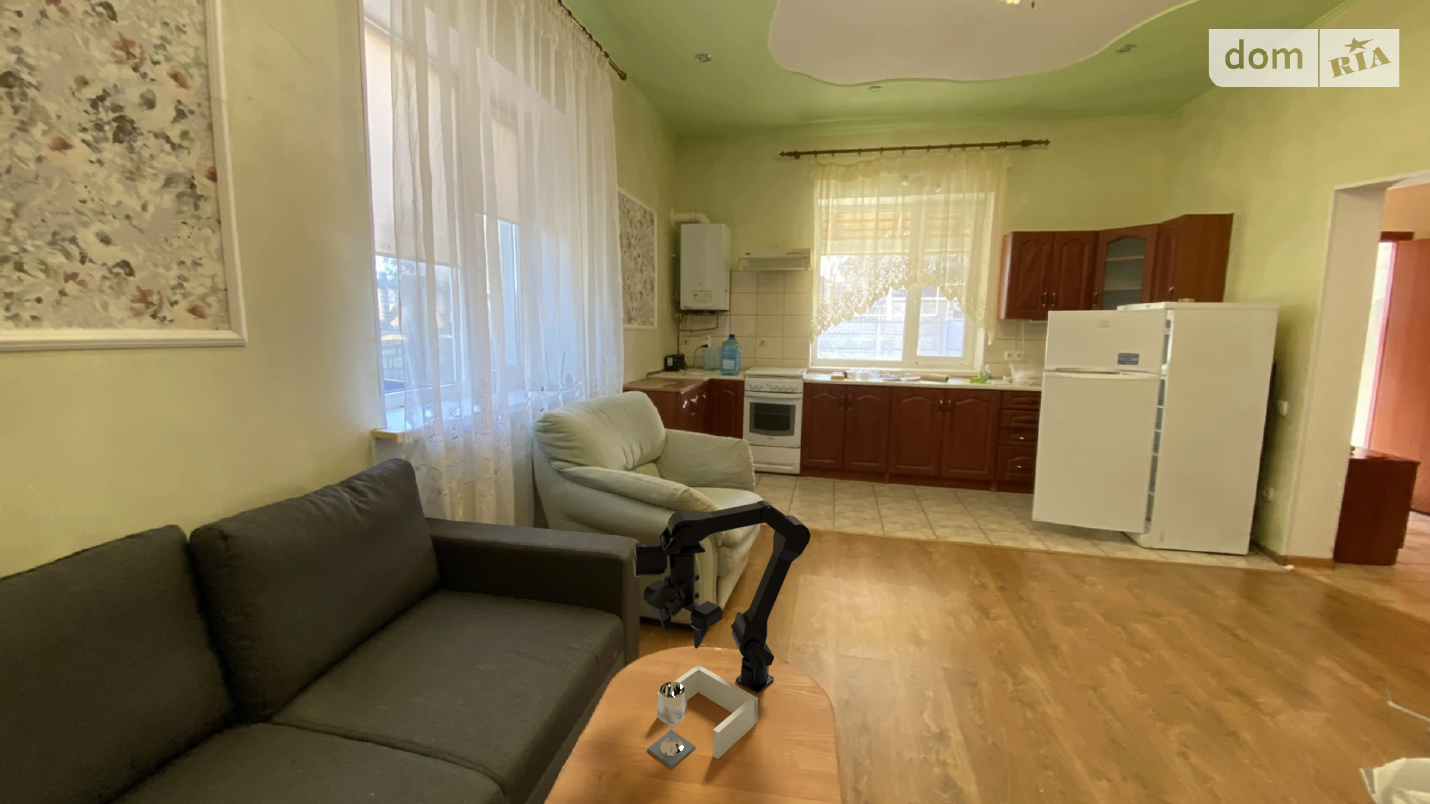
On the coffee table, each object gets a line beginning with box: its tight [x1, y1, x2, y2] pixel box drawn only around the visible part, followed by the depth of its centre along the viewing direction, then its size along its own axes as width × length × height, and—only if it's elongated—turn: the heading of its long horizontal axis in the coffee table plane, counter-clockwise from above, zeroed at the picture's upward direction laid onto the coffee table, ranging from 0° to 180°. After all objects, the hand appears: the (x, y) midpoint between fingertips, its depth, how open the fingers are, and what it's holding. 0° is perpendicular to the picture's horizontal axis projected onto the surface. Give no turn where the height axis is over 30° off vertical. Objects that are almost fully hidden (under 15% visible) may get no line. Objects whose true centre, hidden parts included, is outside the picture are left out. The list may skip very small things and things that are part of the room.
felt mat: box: [646, 730, 696, 769], centre depth 103 cm, size 6×6×1 cm
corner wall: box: [656, 664, 759, 760], centre depth 111 cm, size 13×16×6 cm
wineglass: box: [656, 681, 688, 756], centre depth 103 cm, size 6×6×12 cm
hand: (681, 639), depth 118 cm, fingers open, 9 cm apart
